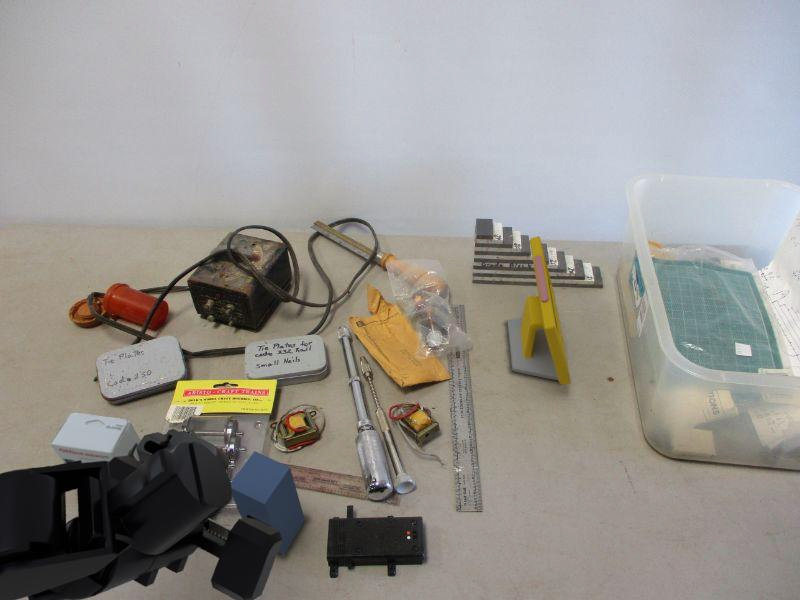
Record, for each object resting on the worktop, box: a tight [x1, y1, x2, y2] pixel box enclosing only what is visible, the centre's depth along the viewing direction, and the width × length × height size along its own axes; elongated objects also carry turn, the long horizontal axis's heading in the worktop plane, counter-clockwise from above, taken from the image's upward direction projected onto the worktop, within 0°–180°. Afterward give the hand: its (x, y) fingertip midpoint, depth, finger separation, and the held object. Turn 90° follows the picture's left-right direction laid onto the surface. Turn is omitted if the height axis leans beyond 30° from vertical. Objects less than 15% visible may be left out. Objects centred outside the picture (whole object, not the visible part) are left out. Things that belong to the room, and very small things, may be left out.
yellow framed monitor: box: [507, 236, 572, 386], centre depth 91 cm, size 20×8×16 cm, turn 176°
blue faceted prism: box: [230, 450, 306, 556], centre depth 71 cm, size 5×5×13 cm
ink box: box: [49, 411, 142, 464], centre depth 77 cm, size 9×5×12 cm, turn 80°
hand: (228, 510), depth 62 cm, fingers open, 9 cm apart
